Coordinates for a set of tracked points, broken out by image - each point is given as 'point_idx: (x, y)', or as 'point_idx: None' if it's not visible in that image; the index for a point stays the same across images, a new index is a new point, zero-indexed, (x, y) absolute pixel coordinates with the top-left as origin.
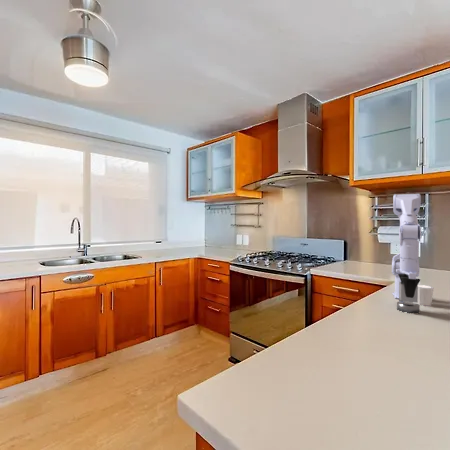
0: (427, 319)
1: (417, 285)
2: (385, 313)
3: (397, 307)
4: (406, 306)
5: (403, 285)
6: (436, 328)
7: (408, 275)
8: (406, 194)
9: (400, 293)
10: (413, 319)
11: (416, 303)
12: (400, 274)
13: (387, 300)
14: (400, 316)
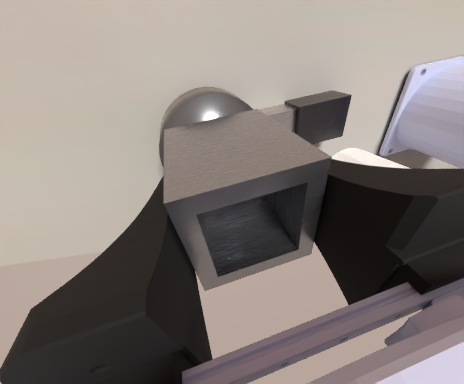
0: (121, 210)
1: (210, 287)
2: (19, 12)
3: (189, 94)
4: (159, 149)
5: (169, 212)
6: (11, 245)
7: (262, 351)
8: None
9: (204, 138)
10: (60, 173)
11: (333, 157)
12: (460, 210)
13: (375, 22)
14: (51, 116)
